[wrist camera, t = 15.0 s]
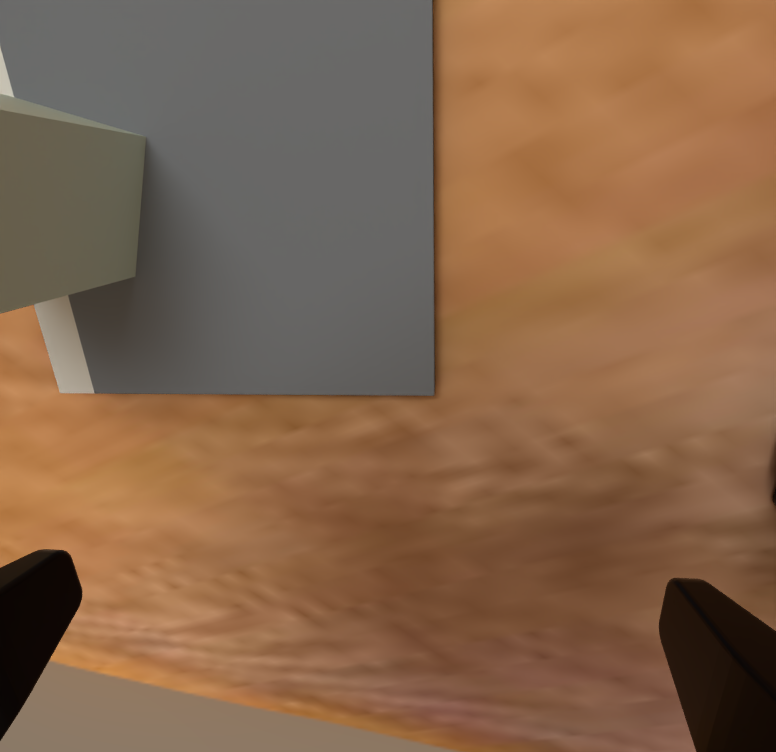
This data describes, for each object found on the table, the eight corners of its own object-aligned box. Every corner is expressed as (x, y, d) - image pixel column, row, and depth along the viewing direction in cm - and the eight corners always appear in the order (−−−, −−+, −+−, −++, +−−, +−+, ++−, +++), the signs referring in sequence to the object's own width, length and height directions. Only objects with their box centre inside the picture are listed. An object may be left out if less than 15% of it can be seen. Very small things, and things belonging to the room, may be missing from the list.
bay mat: (432, -34, 15) (431, -49, 14) (434, 385, 20) (434, 395, 19) (-30, 10, 17) (-58, -1, 16) (76, 384, 22) (60, 393, 21)
